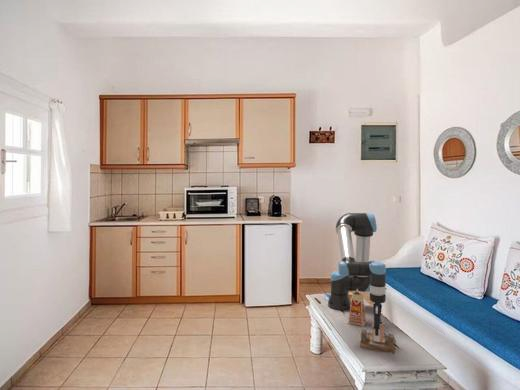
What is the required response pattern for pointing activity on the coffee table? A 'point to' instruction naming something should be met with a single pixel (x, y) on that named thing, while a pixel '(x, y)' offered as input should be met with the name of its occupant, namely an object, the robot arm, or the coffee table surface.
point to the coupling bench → (379, 346)
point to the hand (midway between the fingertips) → (377, 338)
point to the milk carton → (357, 309)
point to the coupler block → (380, 333)
